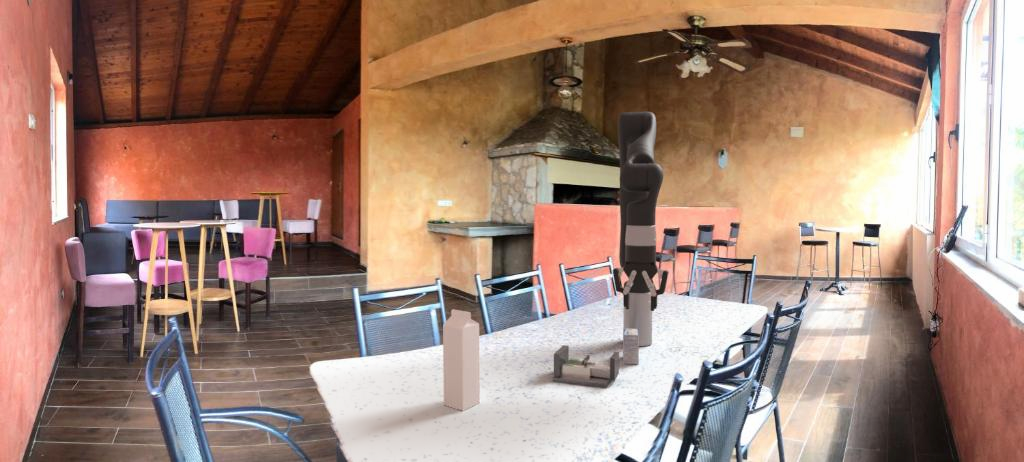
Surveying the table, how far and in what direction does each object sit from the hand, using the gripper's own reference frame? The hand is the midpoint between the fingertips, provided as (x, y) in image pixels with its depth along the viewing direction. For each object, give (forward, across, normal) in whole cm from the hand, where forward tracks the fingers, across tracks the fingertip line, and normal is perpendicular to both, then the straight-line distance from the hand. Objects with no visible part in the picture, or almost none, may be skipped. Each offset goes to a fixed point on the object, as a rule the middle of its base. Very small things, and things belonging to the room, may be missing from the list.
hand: (640, 309), depth 136 cm
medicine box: (+20, +6, -20) cm, 29 cm away
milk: (+20, +36, +28) cm, 50 cm away
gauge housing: (+19, +14, 0) cm, 24 cm away
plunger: (+18, +10, 0) cm, 21 cm away
